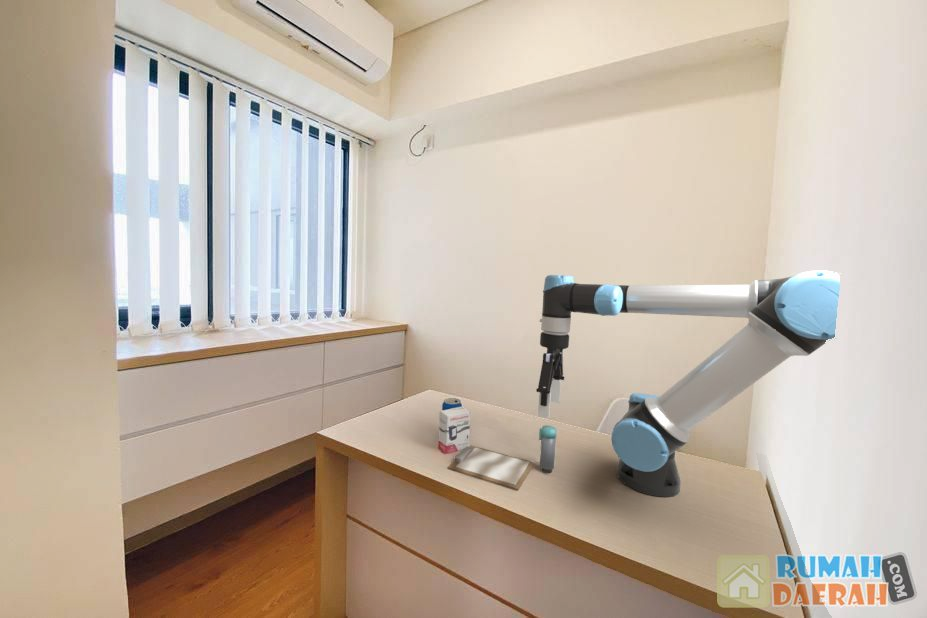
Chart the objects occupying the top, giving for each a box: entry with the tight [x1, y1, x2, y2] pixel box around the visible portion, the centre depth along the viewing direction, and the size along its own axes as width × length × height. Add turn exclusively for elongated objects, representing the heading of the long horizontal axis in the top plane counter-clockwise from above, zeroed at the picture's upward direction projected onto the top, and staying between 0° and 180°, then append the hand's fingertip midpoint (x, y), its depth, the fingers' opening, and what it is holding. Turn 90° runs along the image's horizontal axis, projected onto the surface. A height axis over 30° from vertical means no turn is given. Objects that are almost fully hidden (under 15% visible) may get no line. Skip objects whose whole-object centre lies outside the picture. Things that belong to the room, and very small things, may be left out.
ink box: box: [438, 406, 471, 455], centre depth 108 cm, size 8×5×12 cm, turn 124°
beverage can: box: [441, 397, 463, 411], centre depth 116 cm, size 6×6×12 cm
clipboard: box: [447, 444, 535, 492], centre depth 98 cm, size 20×15×2 cm
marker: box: [538, 424, 558, 474], centre depth 97 cm, size 4×4×12 cm
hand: (549, 409), depth 96 cm, fingers open, 13 cm apart
